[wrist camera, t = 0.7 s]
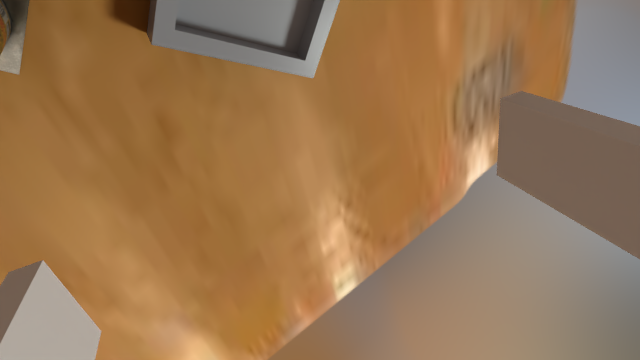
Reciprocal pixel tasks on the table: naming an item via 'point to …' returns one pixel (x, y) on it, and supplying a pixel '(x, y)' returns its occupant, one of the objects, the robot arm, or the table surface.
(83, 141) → the table surface
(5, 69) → the condiment
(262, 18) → the holder
